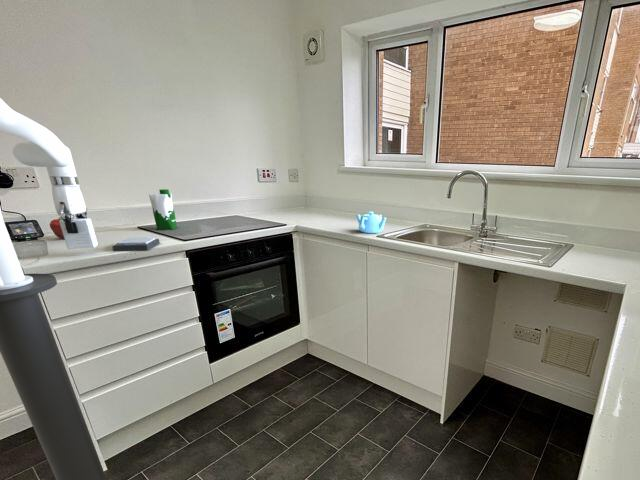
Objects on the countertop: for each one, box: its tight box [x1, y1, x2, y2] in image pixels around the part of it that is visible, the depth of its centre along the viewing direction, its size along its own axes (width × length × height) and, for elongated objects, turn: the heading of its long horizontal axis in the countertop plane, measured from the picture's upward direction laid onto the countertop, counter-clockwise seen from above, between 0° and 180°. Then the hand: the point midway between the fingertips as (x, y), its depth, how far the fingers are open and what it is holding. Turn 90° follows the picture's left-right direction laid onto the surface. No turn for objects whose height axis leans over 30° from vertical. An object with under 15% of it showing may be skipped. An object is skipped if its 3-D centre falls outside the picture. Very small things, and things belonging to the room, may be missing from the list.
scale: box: [112, 236, 161, 252], centre depth 147 cm, size 13×12×3 cm
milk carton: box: [148, 188, 178, 231], centre depth 183 cm, size 9×9×20 cm
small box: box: [59, 217, 99, 250], centre depth 133 cm, size 8×6×10 cm
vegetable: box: [49, 216, 65, 240], centre depth 156 cm, size 11×10×10 cm
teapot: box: [355, 211, 387, 234], centre depth 197 cm, size 15×15×11 cm
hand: (78, 231), depth 132 cm, fingers closed on small box, 6 cm apart
